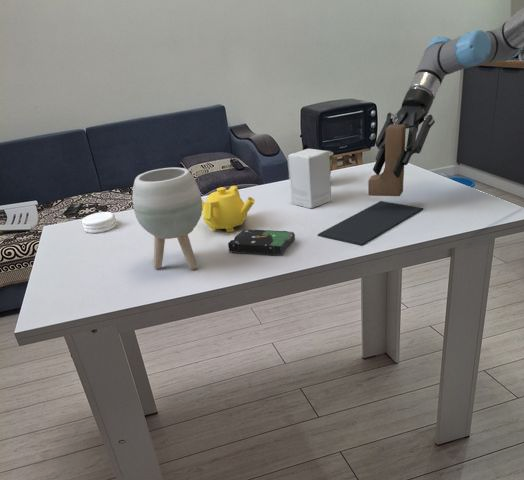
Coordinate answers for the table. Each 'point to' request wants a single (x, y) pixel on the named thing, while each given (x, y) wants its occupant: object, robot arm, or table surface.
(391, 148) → the wooden block
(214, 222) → the teapot
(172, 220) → the planter
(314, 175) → the white product box
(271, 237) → the disk drive
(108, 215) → the coaster
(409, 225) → the table surface
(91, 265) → the table surface
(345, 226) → the mat
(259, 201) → the table surface
